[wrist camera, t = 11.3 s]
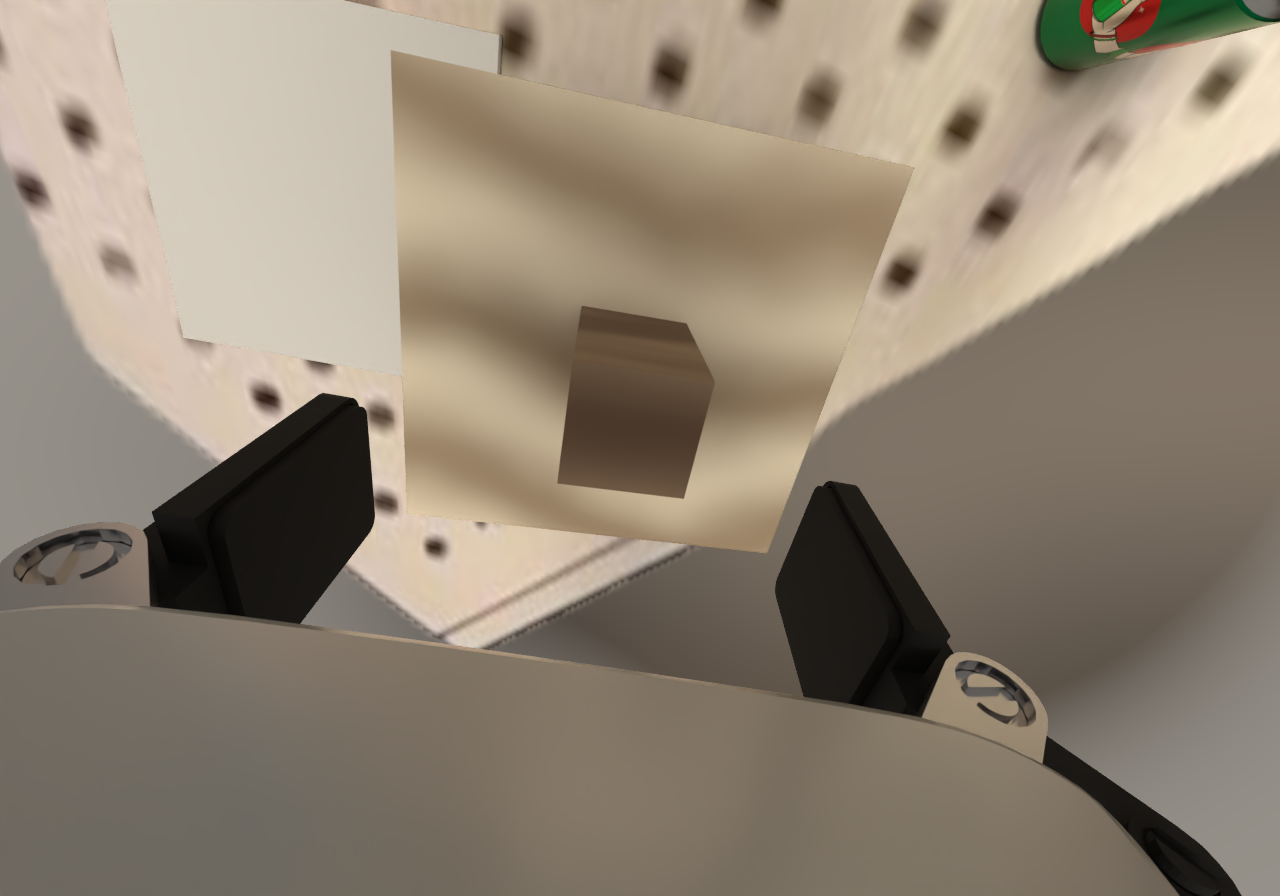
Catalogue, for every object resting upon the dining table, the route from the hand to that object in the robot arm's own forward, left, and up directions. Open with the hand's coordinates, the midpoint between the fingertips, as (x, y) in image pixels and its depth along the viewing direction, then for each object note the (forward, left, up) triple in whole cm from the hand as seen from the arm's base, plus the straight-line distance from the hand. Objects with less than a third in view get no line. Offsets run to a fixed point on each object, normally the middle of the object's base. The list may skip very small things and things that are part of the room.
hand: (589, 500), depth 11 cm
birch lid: (+1, 0, -12) cm, 12 cm away
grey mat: (-1, -20, -27) cm, 33 cm away
